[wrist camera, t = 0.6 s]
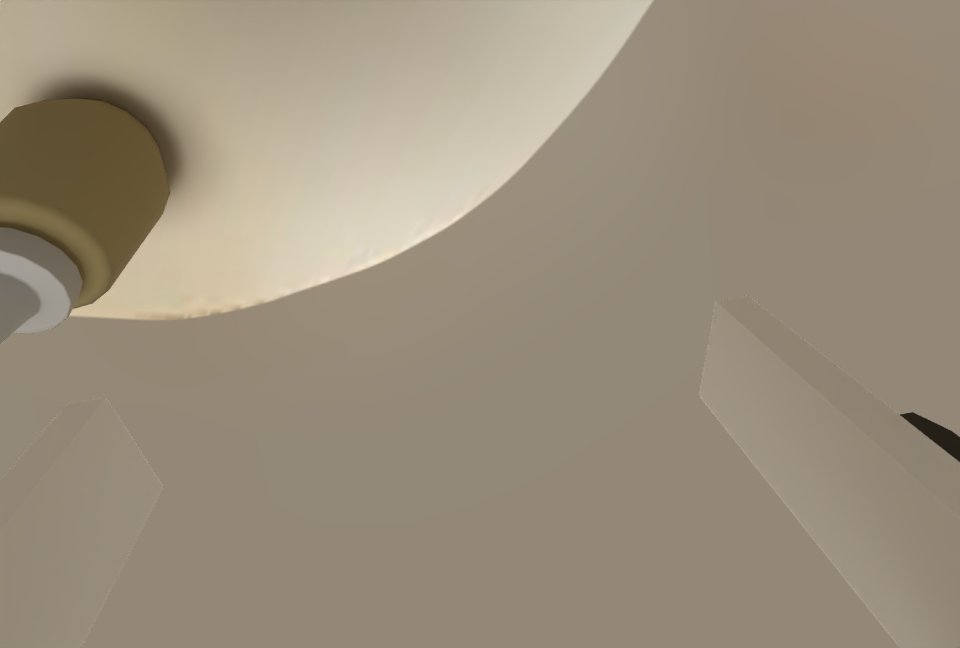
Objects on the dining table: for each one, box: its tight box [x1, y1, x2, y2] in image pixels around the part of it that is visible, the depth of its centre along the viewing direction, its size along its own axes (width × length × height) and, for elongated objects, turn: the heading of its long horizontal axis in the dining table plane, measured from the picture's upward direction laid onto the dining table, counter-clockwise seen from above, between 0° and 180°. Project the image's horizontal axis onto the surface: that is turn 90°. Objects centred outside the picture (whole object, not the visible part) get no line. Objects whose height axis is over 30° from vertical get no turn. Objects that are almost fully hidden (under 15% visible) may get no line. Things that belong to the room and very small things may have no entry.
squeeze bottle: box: [0, 98, 170, 343], centre depth 24 cm, size 8×8×18 cm
